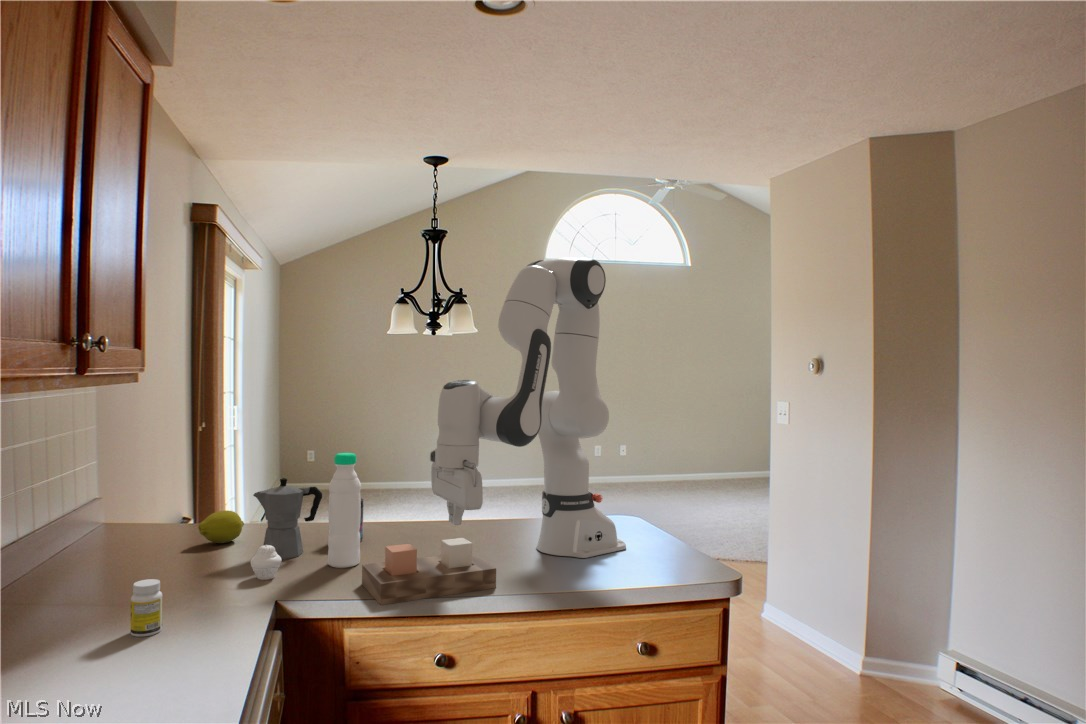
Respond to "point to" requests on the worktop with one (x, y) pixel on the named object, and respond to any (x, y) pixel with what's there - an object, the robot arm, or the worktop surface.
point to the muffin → (266, 562)
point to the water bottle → (344, 513)
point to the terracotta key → (400, 559)
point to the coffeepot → (286, 516)
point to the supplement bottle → (146, 608)
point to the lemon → (221, 526)
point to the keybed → (427, 580)
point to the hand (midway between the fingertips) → (455, 523)
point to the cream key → (456, 553)
